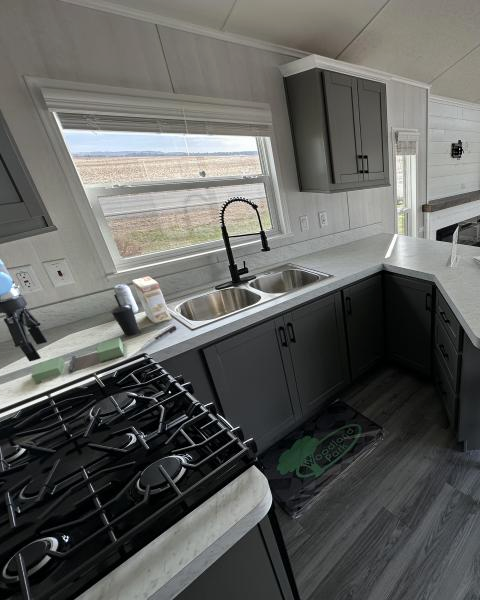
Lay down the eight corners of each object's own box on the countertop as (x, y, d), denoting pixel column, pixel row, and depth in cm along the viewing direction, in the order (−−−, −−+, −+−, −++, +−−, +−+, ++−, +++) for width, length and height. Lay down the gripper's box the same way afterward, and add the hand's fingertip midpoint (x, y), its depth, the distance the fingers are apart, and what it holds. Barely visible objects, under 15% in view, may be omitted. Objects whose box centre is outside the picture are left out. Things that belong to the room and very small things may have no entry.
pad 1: (36, 384, 117) (30, 375, 115) (41, 372, 123) (35, 364, 122) (63, 376, 121) (57, 367, 119) (66, 365, 127) (61, 356, 125)
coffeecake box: (172, 319, 159) (158, 282, 151) (155, 325, 154) (140, 287, 146) (162, 310, 168) (148, 275, 160) (146, 316, 163) (131, 280, 155)
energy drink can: (141, 309, 170) (130, 283, 164) (134, 315, 165) (122, 287, 158) (130, 310, 170) (118, 283, 164) (121, 315, 165) (109, 288, 158)
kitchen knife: (175, 329, 150) (173, 325, 149) (176, 329, 150) (175, 325, 149) (140, 351, 134) (138, 347, 133) (142, 351, 134) (140, 347, 133)
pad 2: (100, 361, 126) (96, 353, 125) (102, 351, 133) (97, 343, 131) (123, 354, 130) (119, 346, 128) (123, 345, 137) (119, 337, 135)
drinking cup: (121, 335, 147) (102, 295, 138) (142, 329, 151) (125, 289, 143) (123, 341, 142) (104, 300, 133) (144, 335, 146) (127, 294, 138)
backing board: (71, 375, 121) (68, 370, 120) (75, 361, 130) (72, 356, 129) (125, 358, 130) (122, 353, 129) (125, 346, 138) (122, 341, 137)
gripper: (12, 307, 102) (47, 362, 111) (29, 284, 120) (57, 333, 129) (-24, 315, 98) (16, 372, 107) (-1, 289, 116) (31, 340, 125)
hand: (39, 351), depth 118 cm, fingers open, 13 cm apart
